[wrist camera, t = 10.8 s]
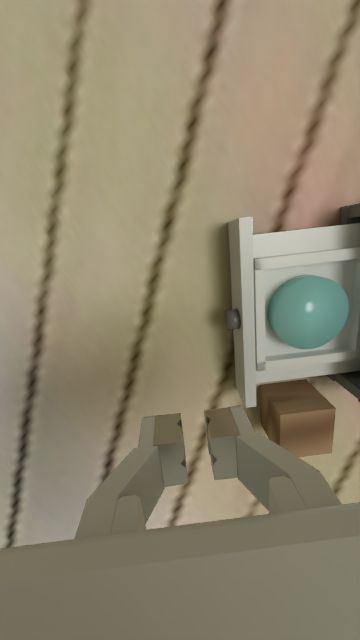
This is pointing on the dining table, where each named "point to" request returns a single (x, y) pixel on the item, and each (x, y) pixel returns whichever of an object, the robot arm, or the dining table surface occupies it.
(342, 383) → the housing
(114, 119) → the dining table surface
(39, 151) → the dining table surface
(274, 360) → the light grey drawer
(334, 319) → the teal flat dome
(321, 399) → the brown wooden cube
